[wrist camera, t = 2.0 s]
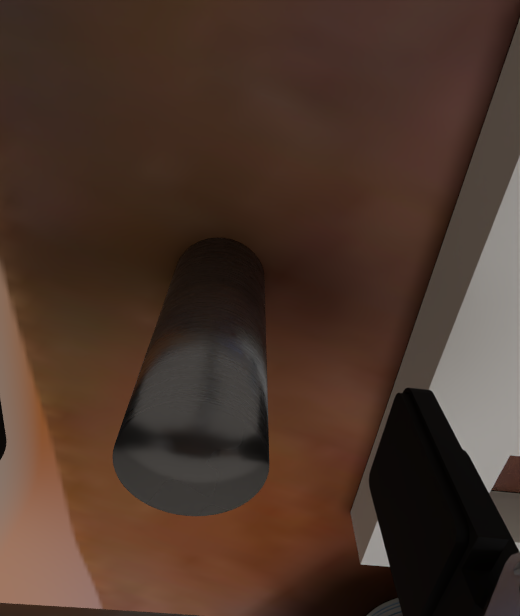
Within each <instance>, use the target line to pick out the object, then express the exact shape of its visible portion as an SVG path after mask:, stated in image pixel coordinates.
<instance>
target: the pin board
mask: <svg viewBox="0 0 520 616" xmlns="http://www.w3.org/2000/svg"><path fill="white" fill-rule="evenodd" d="M405 388H417V389H426V390H431V391H432V392H433V393H434V395H435V397H436V399H437V401H438V403H439V405H440V407H441V409H442V411H443V413H444V415H445V417H446V419H447V420H448V422H449V424H450V426H451V428H452V430H453V432H454V434H455V436H456V438H457V440H458V442H459V444H460V446H461V448H462V449H463V450H465V451H466V452H467V454H468V455H469V456H470V458H471V460H472V462H473V464H474V466H475V468H476V470H477V472H478V474H479V475H480V477H481V479H482V481H483V483H484V485H485V487H486V489H487V491H488V493H489V494H490V496H491V498H492V500H493V502H494V504H495V506H496V508H497V510H498V512H499V513H500V515H501V517H502V519H503V521H504V523H505V525H506V527H507V529H508V531H509V533H510V534H511V536H512V538H513V540H514V542H515V544H516V546H517V548H518V550H519V552H520V493H509V492H498V491H491V489H492V487H493V486H494V484H495V482H496V480H497V478H498V476H499V474H500V473H501V471H502V469H503V467H504V465H505V463H506V461H507V460H508V458H509V456H510V455H513V456H520V19H519V22H518V25H517V28H516V30H515V33H514V36H513V39H512V42H511V45H510V48H509V51H508V54H507V57H506V60H505V63H504V65H503V68H502V71H501V74H500V77H499V80H498V83H497V86H496V89H495V92H494V95H493V98H492V101H491V103H490V106H489V109H488V112H487V115H486V118H485V121H484V124H483V127H482V130H481V133H480V136H479V138H478V141H477V144H476V147H475V150H474V153H473V156H472V159H471V162H470V165H469V168H468V171H467V173H466V176H465V179H464V182H463V185H462V188H461V191H460V194H459V197H458V200H457V203H456V206H455V208H454V211H453V214H452V217H451V220H450V223H449V226H448V229H447V232H446V235H445V238H444V241H443V244H442V246H441V249H440V252H439V255H438V258H437V261H436V264H435V267H434V270H433V273H432V276H431V279H430V281H429V284H428V287H427V290H426V293H425V296H424V299H423V302H422V305H421V308H420V311H419V314H418V316H417V319H416V322H415V325H414V328H413V331H412V334H411V337H410V340H409V343H408V346H407V349H406V351H405V354H404V357H403V360H402V363H401V366H400V369H399V372H398V375H397V378H396V381H395V384H394V387H393V389H392V392H391V395H390V398H389V401H388V404H387V407H386V410H385V413H384V416H383V419H382V422H381V424H380V427H379V430H378V433H377V436H376V439H375V442H374V445H373V448H372V451H371V454H370V457H369V459H368V462H367V465H366V468H365V471H364V474H363V477H362V480H361V483H360V486H359V489H358V492H357V494H356V497H355V500H354V503H353V506H352V509H351V512H350V513H351V518H352V523H353V528H354V533H355V539H356V544H357V549H358V554H359V559H360V564H361V565H374V566H387V567H390V565H389V561H388V557H387V553H386V550H385V546H384V542H383V538H382V534H381V530H380V527H379V523H378V519H377V515H376V511H375V507H374V504H373V500H372V496H371V492H370V488H369V474H370V470H371V467H372V464H373V461H374V458H375V455H376V452H377V449H378V446H379V443H380V440H381V437H382V434H383V431H384V428H385V425H386V422H387V419H388V416H389V413H390V410H391V407H392V404H393V401H394V398H395V396H396V394H397V393H403V391H404V390H405Z"/></svg>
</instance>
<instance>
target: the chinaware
mask: <svg viewBox="0 0 520 616" xmlns="http://www.w3.org/2000/svg"><path fill="white" fill-rule="evenodd" d="M367 616H403V615H402V611H401V607H400V603H399V599H398V598H395V599H393V600H390V601H388V602H385V603H383V604H381V605H380V606H378V607H376V608H375V609H373V610H372V611H371V612H370V613H369V614H368V615H367Z"/></svg>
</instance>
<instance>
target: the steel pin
mask: <svg viewBox="0 0 520 616" xmlns="http://www.w3.org/2000/svg"><path fill="white" fill-rule="evenodd" d="M113 464H114V468H115V472H116V474H117V476H118V478H119V480H120V481H121V483H122V484H123V485H124V487H125V488H126V489H127V490H128V491H129V492H130V493H131V494H133V495H134V496H135V497H136V498H138V499H139V500H141V501H142V502H144V503H146V504H148V505H150V506H152V507H154V508H156V509H159V510H162V511H165V512H168V513H173V514H178V515H186V516H207V515H214V514H219V513H223V512H226V511H229V510H232V509H235V508H237V507H239V506H241V505H243V504H244V503H246V502H248V501H249V500H250V499H251V498H253V497H254V496H255V495H256V494H257V493H258V492H259V490H260V489H261V488H262V486H263V485H264V483H265V481H266V479H267V475H268V472H269V437H268V397H267V357H266V317H265V279H264V271H263V268H262V265H261V263H260V261H259V259H258V258H257V256H256V255H255V254H254V253H253V252H252V251H251V250H250V249H249V248H247V247H246V246H244V245H243V244H241V243H239V242H237V241H234V240H231V239H226V238H211V239H206V240H203V241H200V242H198V243H196V244H194V245H192V246H191V247H189V248H188V249H187V250H186V251H185V252H184V253H183V255H182V256H181V258H180V259H179V261H178V264H177V266H176V269H175V272H174V275H173V278H172V281H171V284H170V286H169V289H168V292H167V295H166V298H165V301H164V304H163V307H162V310H161V312H160V315H159V318H158V321H157V324H156V327H155V330H154V333H153V336H152V338H151V341H150V344H149V347H148V350H147V353H146V356H145V359H144V362H143V364H142V367H141V370H140V373H139V376H138V379H137V382H136V385H135V388H134V390H133V393H132V396H131V399H130V402H129V405H128V408H127V411H126V414H125V417H124V419H123V422H122V425H121V428H120V431H119V434H118V437H117V440H116V443H115V446H114V450H113Z"/></svg>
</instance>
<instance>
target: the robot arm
mask: <svg viewBox="0 0 520 616" xmlns="http://www.w3.org/2000/svg"><path fill="white" fill-rule="evenodd" d="M5 448H6V434H5V428H4V421H3V414H2V408H1V402H0V459H1V458H2V456H3V454H4V451H5ZM369 488H370V492H371V496H372V500H373V504H374V507H375V511H376V515H377V519H378V523H379V527H380V530H381V534H382V538H383V542H384V546H385V550H386V553H387V557H388V561H389V565H390V569H391V573H392V576H393V580H394V584H395V588H396V592H397V596H398V599H399V603H400V607H401V611H402V615H403V616H520V552H519V550H518V548H517V546H516V544H515V542H514V540H513V538H512V536H511V534H510V533H509V531H508V529H507V527H506V525H505V523H504V521H503V519H502V517H501V515H500V513H499V512H498V510H497V508H496V506H495V504H494V502H493V500H492V498H491V496H490V494H489V493H488V491H487V489H486V487H485V485H484V483H483V481H482V479H481V477H480V475H479V474H478V472H477V470H476V468H475V466H474V464H473V462H472V460H471V458H470V456H469V455H468V454H467V452H466V451H465V450H463V449H462V448H461V446H460V444H459V442H458V440H457V438H456V436H455V434H454V432H453V430H452V428H451V426H450V424H449V422H448V420H447V419H446V417H445V415H444V413H443V411H442V409H441V407H440V405H439V403H438V401H437V399H436V397H435V395H434V393H433V392H432V391H431V390H426V389H417V388H405V390H404V391H403V393H397V394H396V396H395V398H394V401H393V404H392V407H391V410H390V413H389V416H388V419H387V422H386V425H385V428H384V431H383V434H382V437H381V440H380V443H379V446H378V449H377V452H376V455H375V458H374V461H373V464H372V467H371V470H370V474H369ZM0 616H197V615H182V614H167V613H152V612H137V611H121V610H106V609H91V608H90V609H89V608H75V607H57V606H41V605H25V604H8V603H0Z"/></svg>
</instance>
